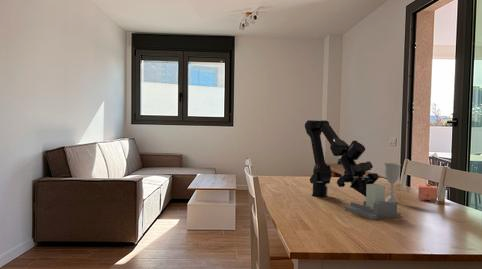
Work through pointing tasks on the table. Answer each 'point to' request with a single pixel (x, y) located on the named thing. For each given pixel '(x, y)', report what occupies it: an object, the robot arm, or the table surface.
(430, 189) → the pink cube teapot
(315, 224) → the table surface
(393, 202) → the track
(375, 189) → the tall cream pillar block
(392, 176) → the chalice
